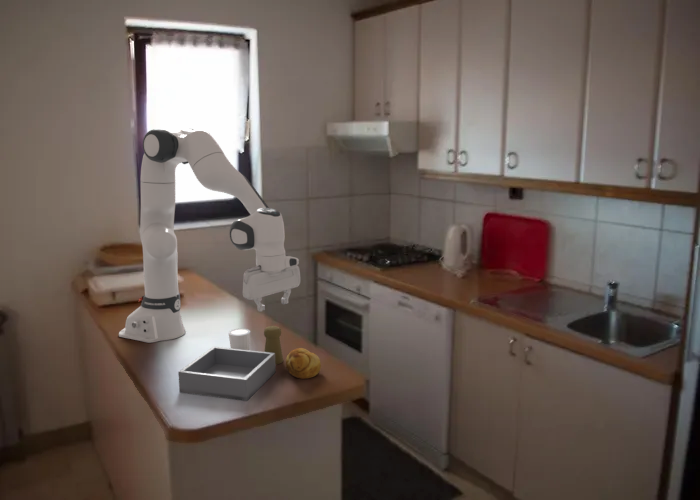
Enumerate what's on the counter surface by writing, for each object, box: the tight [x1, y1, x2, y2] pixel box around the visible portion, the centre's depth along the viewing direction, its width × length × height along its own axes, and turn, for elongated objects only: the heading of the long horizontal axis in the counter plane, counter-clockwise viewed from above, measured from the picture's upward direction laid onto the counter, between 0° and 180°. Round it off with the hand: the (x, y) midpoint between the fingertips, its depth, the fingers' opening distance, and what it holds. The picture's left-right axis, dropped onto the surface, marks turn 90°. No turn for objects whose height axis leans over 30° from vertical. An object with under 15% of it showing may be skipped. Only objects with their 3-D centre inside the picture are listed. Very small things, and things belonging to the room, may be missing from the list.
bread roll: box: [285, 347, 322, 380], centre depth 183 cm, size 13×10×8 cm
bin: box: [178, 346, 276, 402], centre depth 177 cm, size 20×20×6 cm
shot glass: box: [228, 328, 251, 350], centre depth 199 cm, size 7×7×7 cm
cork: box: [263, 325, 284, 366], centre depth 192 cm, size 6×6×11 cm
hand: (273, 307), depth 190 cm, fingers open, 8 cm apart
